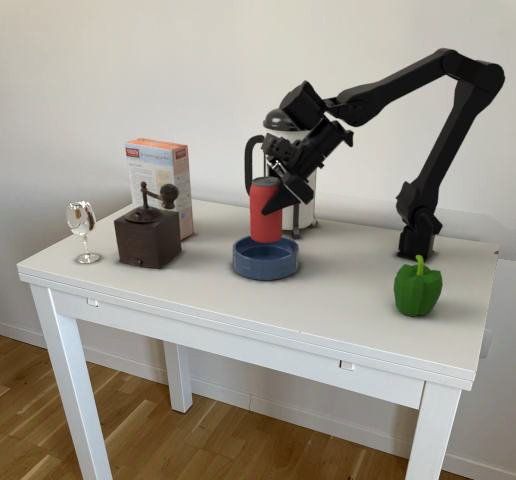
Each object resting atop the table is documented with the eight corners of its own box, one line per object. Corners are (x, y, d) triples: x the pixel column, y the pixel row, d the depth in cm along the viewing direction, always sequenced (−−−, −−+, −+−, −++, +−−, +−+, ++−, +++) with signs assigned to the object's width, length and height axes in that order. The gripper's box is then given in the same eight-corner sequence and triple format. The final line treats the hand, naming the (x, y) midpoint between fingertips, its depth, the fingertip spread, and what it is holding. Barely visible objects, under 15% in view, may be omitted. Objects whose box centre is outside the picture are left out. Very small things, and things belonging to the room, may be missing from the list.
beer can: (279, 245, 108) (279, 186, 102) (247, 243, 109) (245, 184, 103) (284, 233, 114) (285, 176, 107) (254, 231, 115) (253, 174, 108)
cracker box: (195, 234, 130) (189, 144, 119) (179, 242, 126) (171, 149, 114) (151, 223, 136) (141, 136, 125) (135, 230, 132) (123, 141, 121)
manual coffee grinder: (116, 263, 116) (102, 179, 106) (143, 244, 125) (133, 165, 115) (180, 275, 111) (172, 188, 101) (203, 254, 120) (198, 173, 110)
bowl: (309, 263, 116) (310, 243, 114) (274, 287, 107) (274, 266, 104) (257, 248, 123) (257, 229, 120) (219, 269, 113) (219, 250, 111)
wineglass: (107, 256, 119) (98, 203, 113) (90, 266, 115) (80, 211, 108) (87, 251, 121) (77, 199, 115) (69, 261, 117) (58, 207, 110)
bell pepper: (433, 325, 94) (444, 274, 89) (386, 316, 97) (394, 265, 92) (439, 304, 101) (449, 254, 95) (395, 296, 104) (403, 247, 98)
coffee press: (310, 214, 141) (317, 89, 125) (325, 238, 128) (334, 101, 111) (244, 218, 139) (242, 91, 123) (252, 242, 126) (251, 103, 109)
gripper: (276, 108, 107) (224, 168, 111) (298, 128, 91) (236, 196, 96) (313, 147, 112) (261, 202, 117) (340, 172, 97) (279, 235, 101)
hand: (259, 208), depth 108 cm, fingers closed on beer can, 6 cm apart
